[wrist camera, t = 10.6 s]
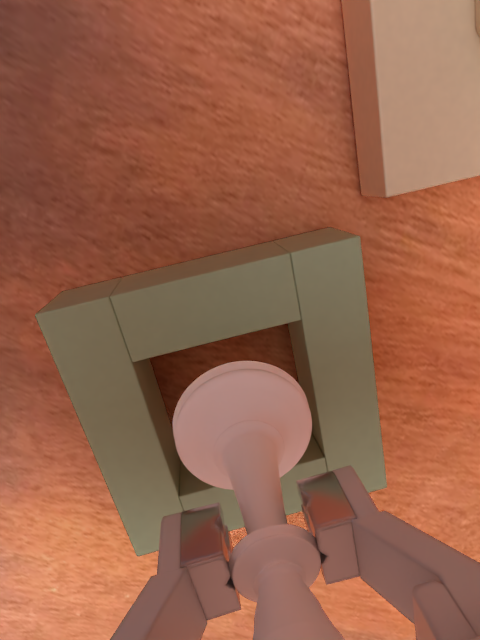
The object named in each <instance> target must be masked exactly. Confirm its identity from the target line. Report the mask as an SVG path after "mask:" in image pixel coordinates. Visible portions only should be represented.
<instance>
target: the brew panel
mask: <svg viewBox="0 0 480 640" xmlns="http://www.w3.org/2000/svg"><path fill="white" fill-rule="evenodd" d="M341 2H342V12H343V22H344V32H345V41H346V51H347V61H348V71H349V80H350V90H351V100H352V110H353V119H354V129H355V139H356V149H357V158H358V168H359V178H360V188H361V195H362V196H369V197H383V198H389V197H393V196H397V195H401V194H405V193H410V192H414V191H418V190H422V189H426V188H431V187H435V186H439V185H443V184H447V183H452V182H456V181H460V180H464V179H468V178H473V177H477V176H480V0H341Z"/></svg>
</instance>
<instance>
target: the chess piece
mask: <svg viewBox="0 0 480 640" xmlns="http://www.w3.org/2000/svg"><path fill="white" fill-rule="evenodd" d="M311 432H312V417H311V412H310V409H309V405H308V401H307V398H306V395H305V393H304V391H303V390H302V388H301V386H300V385H299V384H298V383H297V381H296V380H295V379H294V378H293V377H292V376H290V375H289V374H288V373H286V372H285V371H283V370H282V369H280V368H278V367H276V366H273V365H271V364H267V363H263V362H258V361H236V362H230V363H226V364H223V365H220V366H217V367H215V368H212V369H210V370H209V371H207V372H205V373H204V374H202V375H201V376H199V377H198V378H197V379H195V380H194V381H193V382H192V383H191V384H190V385H189V386H188V387H187V389H186V390H185V391H184V393H183V394H182V396H181V397H180V399H179V401H178V403H177V406H176V408H175V412H174V416H173V435H174V439H175V445H176V449H177V452H178V455H179V457H180V459H181V461H182V462H183V464H184V465H185V467H186V468H187V469H188V470H189V471H190V472H191V473H192V474H193V475H194V476H196V477H197V478H198V479H200V480H201V481H203V482H205V483H207V484H209V485H212V486H215V487H218V488H223V489H229V490H234V493H235V496H236V499H237V502H238V505H239V508H240V511H241V514H242V517H243V520H244V524H245V528H246V531H247V536H245V537H244V538H243V539H242V540H241V541H240V542H239V543H238V544H237V545H236V546H235V548H234V549H233V551H232V553H231V555H230V558H229V562H228V563H229V568H230V577H231V579H232V581H233V584H234V586H235V588H236V589H237V591H238V592H239V593H240V594H241V595H242V596H244V597H245V598H247V599H249V600H251V601H254V602H257V606H256V611H255V618H254V635H253V640H345V639H344V638H343V636H342V635H341V634H340V632H339V631H338V630H337V629H336V628H335V627H334V625H333V624H332V623H331V621H330V620H329V618H328V617H327V615H326V614H325V612H324V611H323V609H322V607H321V605H320V603H319V602H318V600H317V599H316V597H315V596H314V595H313V593H312V592H311V591H310V589H309V587H310V586H311V585H312V584H313V583H314V581H315V580H316V578H317V576H318V574H319V571H320V567H321V558H320V554H321V552H320V551H319V549H318V546H317V543H316V540H315V537H314V536H313V535H312V534H311V533H310V532H308V531H307V530H305V529H303V528H301V527H298V526H295V525H290V524H287V519H286V514H285V509H284V503H283V496H282V490H281V483H280V477H282V476H283V475H285V474H286V473H287V472H288V471H290V470H291V469H292V468H293V467H294V466H295V465H296V464H297V463H298V461H299V460H300V459H301V457H302V456H303V454H304V452H305V451H306V449H307V446H308V444H309V441H310V437H311Z"/></svg>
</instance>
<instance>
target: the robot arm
mask: <svg viewBox="0 0 480 640" xmlns="http://www.w3.org/2000/svg"><path fill="white" fill-rule="evenodd" d="M296 484H297V489H298V494H299V496H300V499H301V502H302V504H301V508H302V512H303V516H304V520H305V524H306V527H307V531H308V532H310V533H311V534H312V535H313V536H314V537H315V540H316V543H317V546H318V549H319V551H320V552H321V554H320V558H321V567H320V568H321V571H322V574H323V577H324V579H325V582H326V585H327V584H331V583H335V582H339V581H343V580H347V579H351V578H355V577H359V576H360V577H361V579H363V580H364V581H365V582H366V583H367V584H368V585H369V586H371V587H372V588H373V589H374V590H375V591H376V592H378V593H379V594H380V595H381V596H382V597H383V598H385V599H386V600H387V601H388V602H389V603H390V604H392V605H393V606H394V607H395V608H396V609H397V610H398V611H400V612H401V613H402V614H403V615H404V616H405V617H407V618H408V619H409V620H410V621H411V622H412V623H414V624H415V631H416V640H480V563H479V562H477V561H475V560H473V559H471V558H470V557H468V556H466V555H464V554H462V553H461V552H459V551H457V550H455V549H453V548H452V547H450V546H448V545H446V544H444V543H442V542H441V541H439V540H437V539H435V538H433V537H432V536H430V535H428V534H426V533H424V532H423V531H421V530H419V529H417V528H415V527H414V526H412V525H410V524H408V523H406V522H405V521H403V520H401V519H399V518H397V517H396V516H394V515H392V514H390V513H388V512H386V511H382V512H379V511H378V509H377V507H376V506H375V504H374V502H373V501H372V499H371V497H370V495H369V494H368V492H367V490H366V489H365V487H364V485H363V484H362V482H361V480H360V479H359V477H358V475H357V474H356V472H355V470H354V468H353V467H352V466H350V465H349V466H346V467H342V468H339V469H335V470H332V471H329V472H325V473H322V474H318V475H315V476H311V477H308V478H304V479H301V480H297V481H296ZM232 551H233V547H232V541H231V537H230V533H229V530H228V527H227V525H225V523H224V514H223V511H222V508H221V505H220V503H219V502H218V503H214V504H210V505H206V506H202V507H198V508H194V509H190V510H186V511H182V512H180V513H176V514H172V515H168V516H163V518H162V521H161V529H160V542H159V555H158V568H157V575H155V576H152V577H151V578H150V579H149V581H148V582H147V584H146V585H145V587H144V588H143V590H142V591H141V593H140V594H139V596H138V597H137V599H136V601H135V602H134V604H133V605H132V607H131V608H130V610H129V611H128V613H127V614H126V616H125V617H124V619H123V620H122V622H121V624H120V625H119V627H118V628H117V630H116V631H115V633H114V634H113V636H112V637H111V639H110V640H201V638H202V635H203V632H204V630H205V627H206V625H207V620H210V619H213V618H216V617H219V616H222V615H225V614H228V613H231V612H234V611H238V610H241V605H240V597H239V592H238V591H237V589H236V588H235V586H234V584H233V581H232V579H231V577H230V568H229V563H228V562H229V558H230V555H231V553H232Z"/></svg>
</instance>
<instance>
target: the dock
mask: <svg viewBox="0 0 480 640" xmlns="http://www.w3.org/2000/svg"><path fill="white" fill-rule="evenodd" d="M35 317H36V319H37V322H38V324H39V326H40V329H41V331H42V333H43V336H44V338H45V340H46V343H47V345H48V348H49V350H50V352H51V355H52V357H53V359H54V362H55V364H56V366H57V369H58V371H59V373H60V376H61V378H62V381H63V383H64V385H65V388H66V390H67V392H68V395H69V397H70V399H71V402H72V404H73V406H74V409H75V411H76V414H77V416H78V418H79V421H80V423H81V425H82V428H83V430H84V432H85V435H86V437H87V439H88V442H89V444H90V447H91V449H92V451H93V454H94V456H95V458H96V461H97V463H98V465H99V468H100V470H101V472H102V475H103V477H104V480H105V482H106V484H107V487H108V489H109V491H110V494H111V496H112V498H113V501H114V503H115V505H116V508H117V510H118V513H119V515H120V517H121V520H122V522H123V524H124V527H125V529H126V531H127V534H128V536H129V538H130V541H131V543H132V546H133V548H134V550H135V553H136V555H137V556H141V555H145V554H149V553H152V552H156V551H159V542H160V529H161V521H162V518H163V516H168V515H172V514H176V513H180V512H182V511H186V510H190V509H194V508H198V507H202V506H206V505H210V504H214V503H218V502H219V503H220V505H221V508H222V511H223V514H224V523H225V525H227V527H228V530H229V531H232V530H235V529H239V528H243V527H245V524H244V520H243V517H242V514H241V511H240V508H239V505H238V502H237V499H236V496H235V493H234V490H229V489H223V488H218V487H215V486H212V485H209V484H207V483H205V482H203V481H201V480H200V479H198V478H197V477H196V476H194V475H193V474H192V473H191V472H190V471H189V470H188V469H187V468H186V467H185V465H184V464H183V462H182V461H181V459H180V457H179V455H178V452H177V449H176V445H175V439H174V435H173V429H172V426H171V423H170V420H169V417H168V414H167V411H166V407H165V404H164V401H163V398H162V395H161V392H160V389H159V386H158V383H157V380H156V377H155V374H154V371H153V368H152V365H151V362H150V359H149V358H151V357H155V356H159V355H163V354H167V353H171V352H175V351H179V350H183V349H187V348H191V347H195V346H199V345H203V344H207V343H211V342H215V341H219V340H223V339H227V338H231V337H235V336H239V335H243V334H247V333H251V332H255V331H259V330H263V329H267V328H271V327H275V326H279V325H283V324H287V323H288V328H289V334H290V339H291V345H292V350H293V355H294V361H295V366H296V371H297V377H298V382H299V385H300V386H301V388H302V390H303V391H304V393H305V395H306V398H307V401H308V405H309V409H310V412H311V417H312V432H311V437H310V441H309V444H308V446H307V449H306V451H305V452H304V454H303V456H302V457H301V459H300V460H299V461H298V463H297V464H296V465H295V466H294V467H293V468H292V469H291V470H290V471H288V472H287V473H286V474H285V475H283V476H282V477H280V483H281V490H282V496H283V503H284V509H285V514H286V515H290V514H293V513H297V512H300V511H302V508H301V504H302V502H301V499H300V496H299V494H298V489H297V484H296V481H297V480H301V479H304V478H308V477H311V476H315V475H318V474H322V473H325V472H329V471H332V470H335V469H339V468H342V467H346V466H349V465H350V466H352V467H353V468H354V470H355V472H356V474H357V475H358V477H359V479H360V480H361V482H362V484H363V485H364V487H365V489H366V490H367V492H368V493H369V492H373V491H376V490H380V489H383V488H386V487H387V482H386V473H385V464H384V454H383V445H382V436H381V426H380V417H379V408H378V398H377V389H376V380H375V370H374V361H373V352H372V342H371V333H370V324H369V315H368V305H367V296H366V287H365V277H364V268H363V259H362V249H361V240H360V236H358V235H355V234H351V233H348V232H345V231H341V230H338V229H335V228H331V227H328V228H324V229H319V230H315V231H311V232H307V233H303V234H299V235H295V236H290V237H286V238H282V239H278V240H274V241H273V242H272V241H270V242H265V243H261V244H257V245H253V246H249V247H245V248H240V249H236V250H232V251H228V252H224V253H220V254H215V255H211V256H207V257H203V258H199V259H195V260H191V261H186V262H182V263H178V264H174V265H170V266H166V267H161V268H157V269H153V270H149V271H145V272H141V273H136V274H132V275H128V276H124V277H123V278H122V277H120V278H116V279H112V280H107V281H103V282H99V283H95V284H91V285H87V286H82V287H78V288H74V289H70V290H66V291H62V292H61V293H60V294H58V295H57V296H56V297H55V298H54V299H53V300H51V301H50V302H49V303H48V304H47V305H46V306H45V307H43V308H42V309H41V310H40V311H39V312H38V313H36V314H35Z"/></svg>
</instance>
